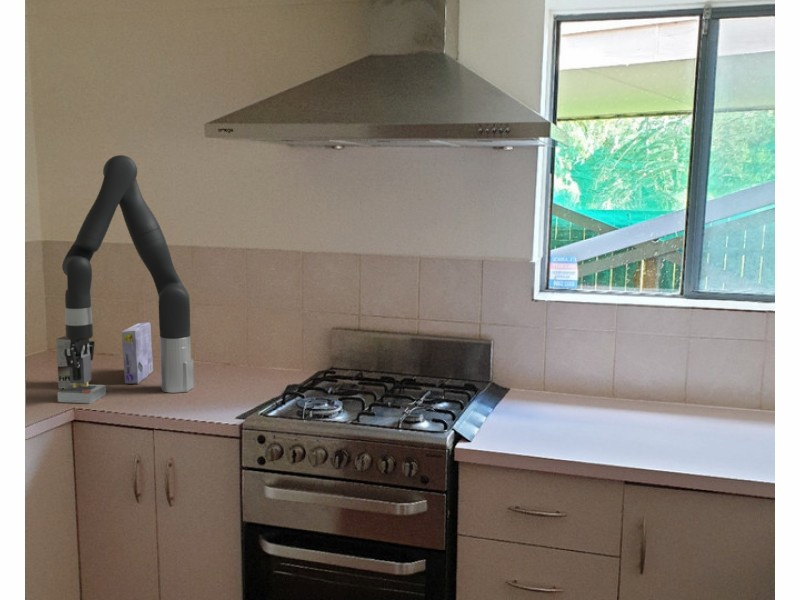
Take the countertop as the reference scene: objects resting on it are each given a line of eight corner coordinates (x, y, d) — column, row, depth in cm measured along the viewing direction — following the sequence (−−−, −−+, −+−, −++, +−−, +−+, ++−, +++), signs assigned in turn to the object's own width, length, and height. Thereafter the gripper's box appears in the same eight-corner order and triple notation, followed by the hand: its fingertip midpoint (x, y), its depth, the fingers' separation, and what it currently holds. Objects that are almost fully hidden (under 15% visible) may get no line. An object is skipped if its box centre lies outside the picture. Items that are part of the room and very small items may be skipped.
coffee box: (78, 389, 243) (75, 339, 241) (57, 388, 243) (55, 338, 241) (90, 382, 252) (88, 333, 250) (70, 381, 252) (68, 333, 250)
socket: (106, 394, 237) (105, 382, 237) (90, 403, 227) (89, 391, 227) (75, 393, 238) (74, 381, 238) (57, 402, 228) (57, 390, 228)
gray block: (77, 383, 235) (76, 353, 233) (91, 384, 234) (90, 353, 233) (70, 387, 230) (69, 356, 229) (84, 388, 230) (83, 356, 229)
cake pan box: (140, 370, 268) (138, 320, 266) (154, 370, 269) (153, 321, 266) (122, 384, 249) (120, 331, 247) (138, 384, 250) (136, 331, 247)
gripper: (78, 326, 222) (81, 384, 225) (102, 318, 236) (104, 373, 239) (54, 325, 223) (56, 383, 225) (79, 317, 237) (81, 372, 239)
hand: (81, 377), depth 232 cm, fingers closed on gray block, 4 cm apart
